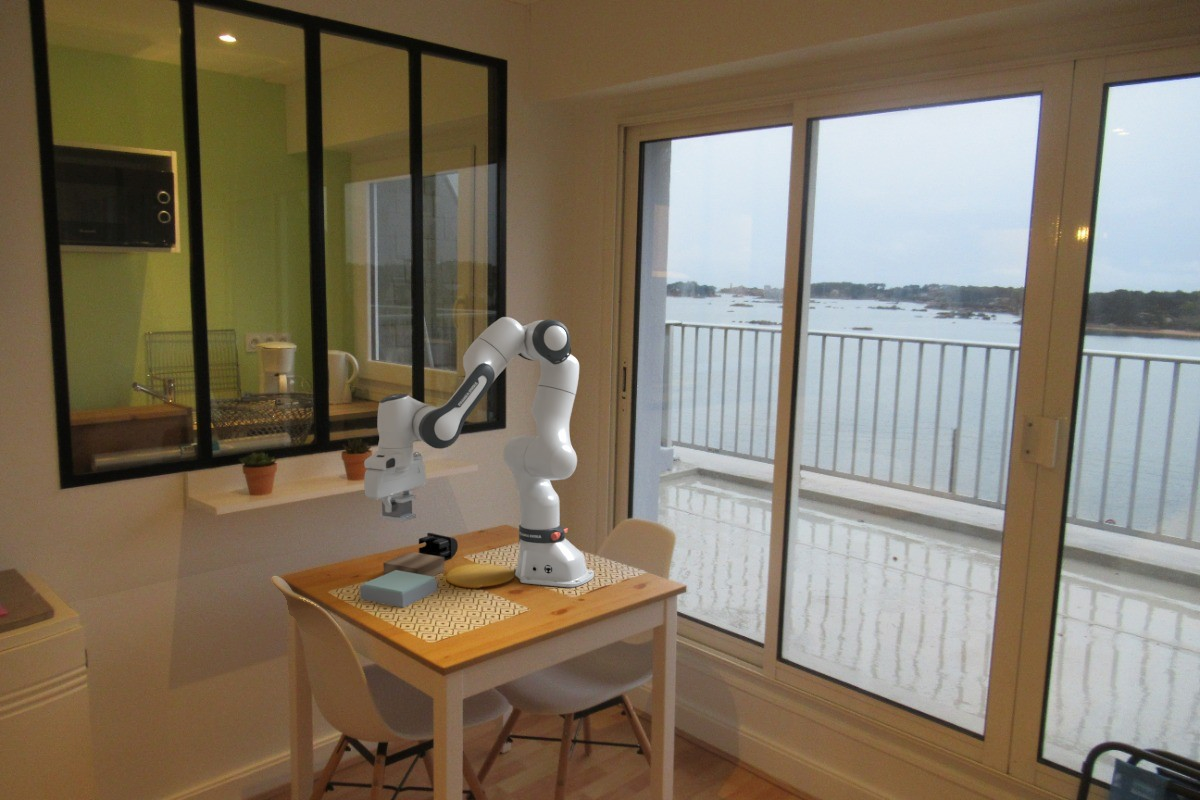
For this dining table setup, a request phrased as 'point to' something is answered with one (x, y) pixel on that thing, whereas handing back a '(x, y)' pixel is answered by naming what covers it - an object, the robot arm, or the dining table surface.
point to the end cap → (439, 546)
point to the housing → (399, 508)
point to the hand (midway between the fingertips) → (397, 509)
